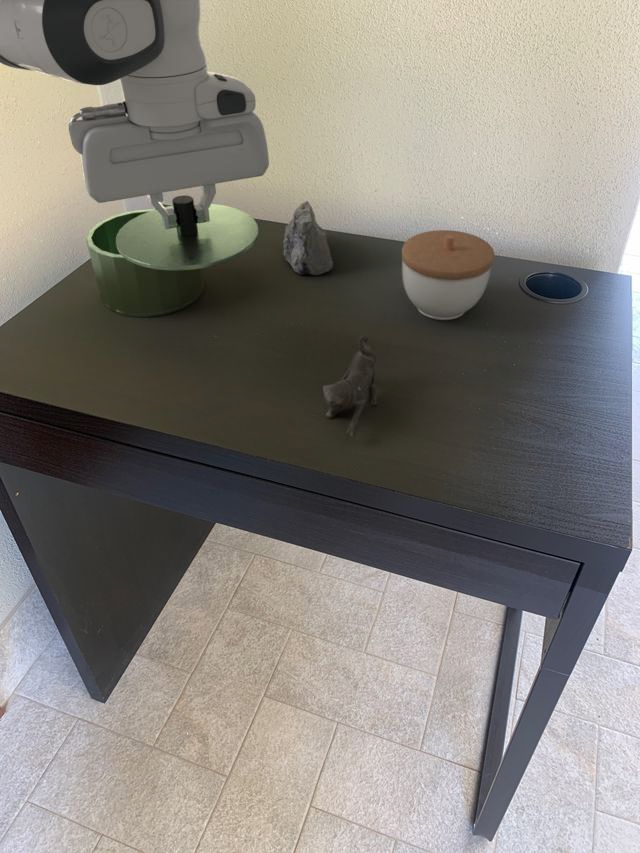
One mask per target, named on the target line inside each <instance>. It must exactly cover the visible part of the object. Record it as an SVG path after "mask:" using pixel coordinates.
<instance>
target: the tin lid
mask: <svg viewBox="0 0 640 853" xmlns="http://www.w3.org/2000/svg"><path fill="white" fill-rule="evenodd" d="M194 201H195V200H194V197H193V196H191V195H177V196H176V197H175V196H174V197H173V198H172V200H171V203H172V205H170V206H169V205H168V206H164V208H165V209H169V208H173V210H174V212H175V213H176V217H177V220H176V221H177V224H178V227H176V228H171V229H166V230H165V228H164V226H163V223H162V218H161V214H160V213H159V212H158V211H157V209H156V208H155V209H156V210H153V211H150V212H147V213H144V214H142V215H140V216H138V217H136V218H134V219H132V220H131V221H129V222H128V223H127V224H125V225H124V226H123V227H122V228H121V229H120V231H119V232H118V234H117V237H116V245H117V249H118V251H119V253H120V254H121V255H122V256H123V257H124V258H125V259H127V260H128V261H130V262H132V263H134V264H137V265H140V266H143V267H147V268H151V269H157V270H171V271H180V270H194V269H201V268H203V269H207V268H210V267H214V266H218V265H221V264H225V263H228V262H230V261H232V260H235V259H236V258H238V257H240V256H242V255H244V254H246V253H247V252H248V251H250V249H252V247H253V246H255V244H256V242H257V241H258V238H259V226H258V223H257V222H256V220H255V219H254V217H252V216H251V215H250V214H248V213H247V212H245V211H243V210H241V209H238V208H235V207H232V206H228V205H223V204H216V203H211V205H210V207H209V208H208V210H209V218H210V221H209V222H204V223H198V224H197V221H196V214H195V207H194V204H197V203H195V202H194Z"/></svg>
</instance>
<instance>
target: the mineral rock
mask: <svg viewBox="0 0 640 853" xmlns="http://www.w3.org/2000/svg"><path fill="white" fill-rule="evenodd" d="M292 216H293V217H292V219H290V221H289V223H288V224H286V226H285V230H284V238H283V242H282V246H283V247H282V248H283V258H284V260H286V261H287V262H288V263H289V264H290V266H291V268H292V269H293V271H294V272H296V273H297V274H298V275H301V276H302V275H308V274H310V275H312V276H319V275H322V274H324V273H327V272H330V271H331V270H332V269H333V267H334V262H333V258H332V255H331V250H330V247H329V243H328V239H327V234H326V232H325V231H324V230H323V228H322V227H321V226H319V224H318V222H317V220H316V214H315V213H314V210H313V206H312V205H311V204H310V203H309V201H308V200H306V201H304V202H302V203H300V205H299V206H298V207H297V208H296V209H295V210H294V211H293V215H292Z"/></svg>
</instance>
